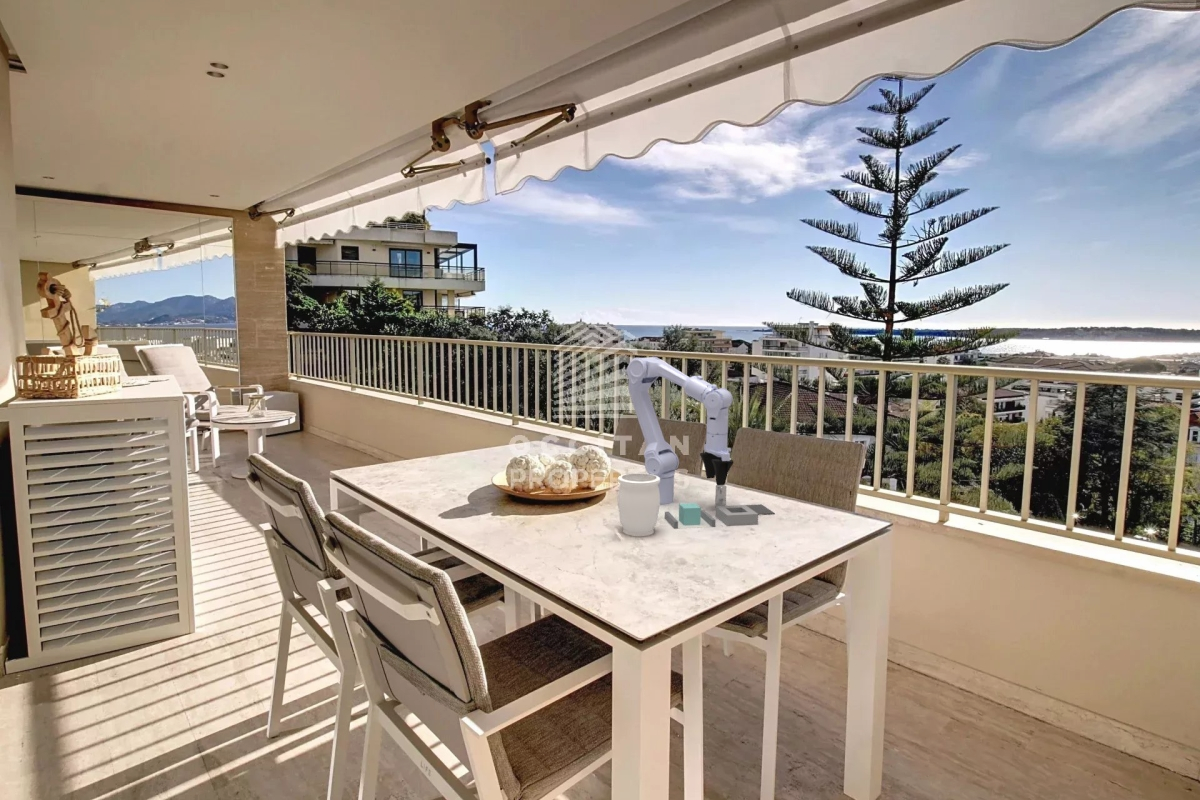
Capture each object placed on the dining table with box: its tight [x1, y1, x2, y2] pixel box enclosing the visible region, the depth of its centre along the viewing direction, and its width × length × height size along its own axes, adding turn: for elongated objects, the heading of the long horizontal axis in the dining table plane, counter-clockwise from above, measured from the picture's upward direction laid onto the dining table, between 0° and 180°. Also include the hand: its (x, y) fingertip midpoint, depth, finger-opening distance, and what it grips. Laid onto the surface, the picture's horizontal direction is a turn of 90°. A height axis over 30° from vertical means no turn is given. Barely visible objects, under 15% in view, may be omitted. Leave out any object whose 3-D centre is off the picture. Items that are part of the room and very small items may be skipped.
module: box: [678, 502, 702, 525], centre depth 167 cm, size 4×4×4 cm
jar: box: [617, 472, 660, 537], centre depth 159 cm, size 11×10×15 cm
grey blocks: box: [664, 504, 759, 530], centre depth 169 cm, size 24×14×4 cm, turn 100°
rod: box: [714, 484, 728, 509], centre depth 181 cm, size 3×3×8 cm
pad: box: [745, 503, 776, 516], centre depth 183 cm, size 9×9×1 cm
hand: (715, 481), depth 176 cm, fingers open, 7 cm apart
